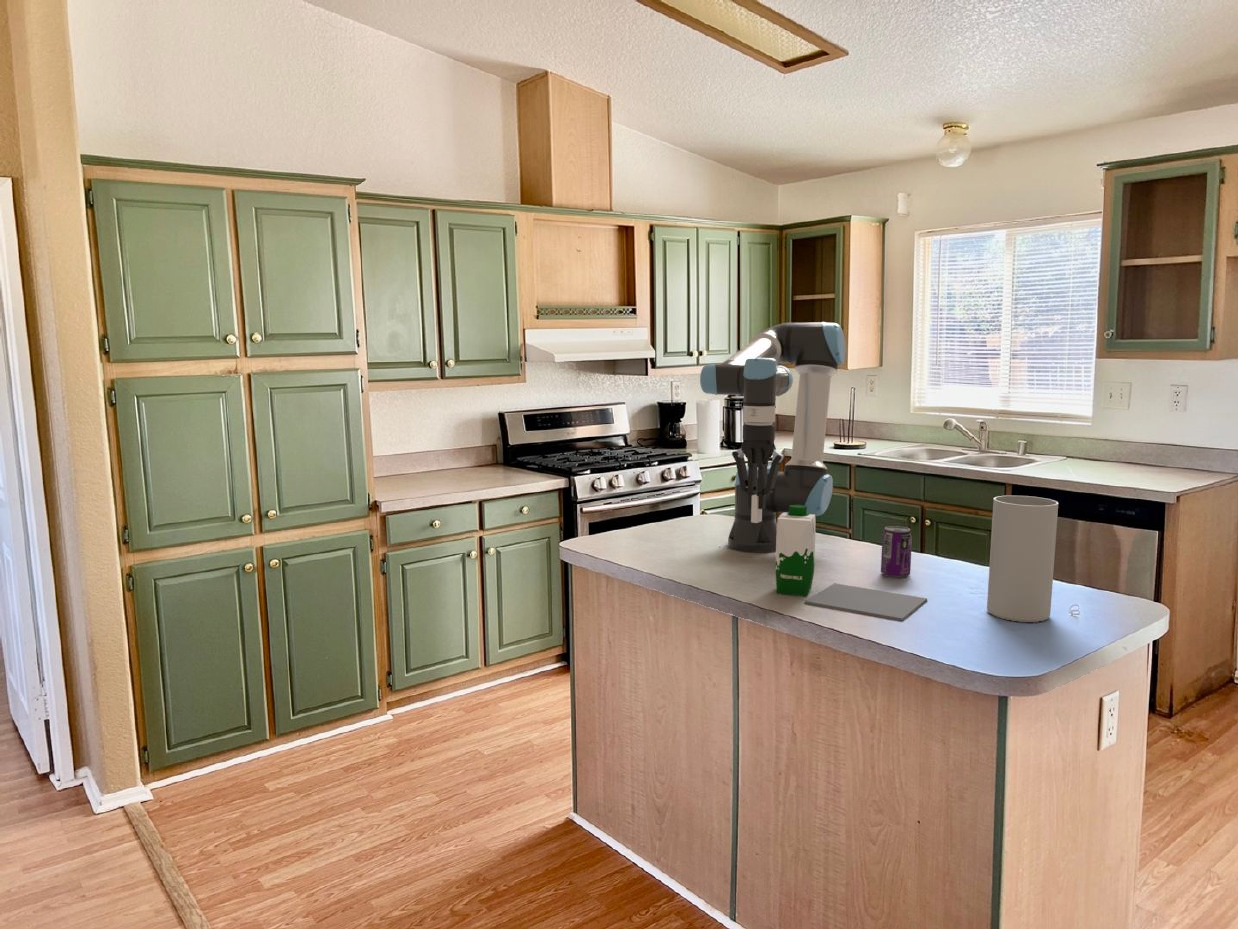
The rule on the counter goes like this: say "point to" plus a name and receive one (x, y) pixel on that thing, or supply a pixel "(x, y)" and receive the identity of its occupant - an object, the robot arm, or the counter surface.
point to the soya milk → (795, 551)
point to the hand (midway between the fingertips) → (756, 521)
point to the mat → (867, 601)
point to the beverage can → (896, 552)
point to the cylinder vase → (1022, 558)
